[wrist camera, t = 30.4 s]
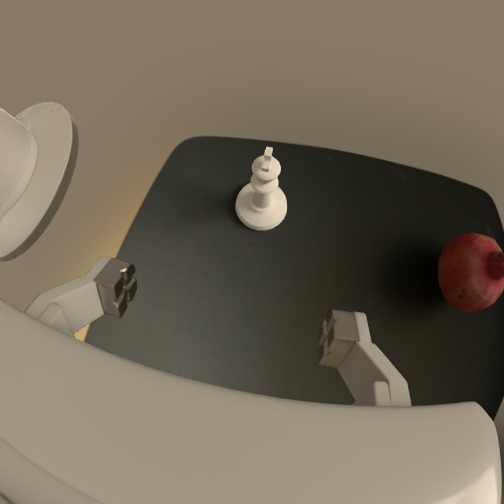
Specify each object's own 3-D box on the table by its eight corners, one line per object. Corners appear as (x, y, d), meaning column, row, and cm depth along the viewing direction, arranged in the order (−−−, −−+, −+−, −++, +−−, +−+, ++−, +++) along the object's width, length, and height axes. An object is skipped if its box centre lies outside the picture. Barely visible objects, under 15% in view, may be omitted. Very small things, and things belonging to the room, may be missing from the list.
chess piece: (290, 187, 27) (309, 130, 18) (282, 235, 26) (301, 195, 17) (241, 178, 27) (238, 118, 18) (230, 225, 27) (221, 180, 17)
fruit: (420, 311, 25) (485, 309, 15) (422, 237, 27) (481, 209, 17) (468, 313, 25) (529, 310, 15) (469, 246, 27) (526, 226, 17)
